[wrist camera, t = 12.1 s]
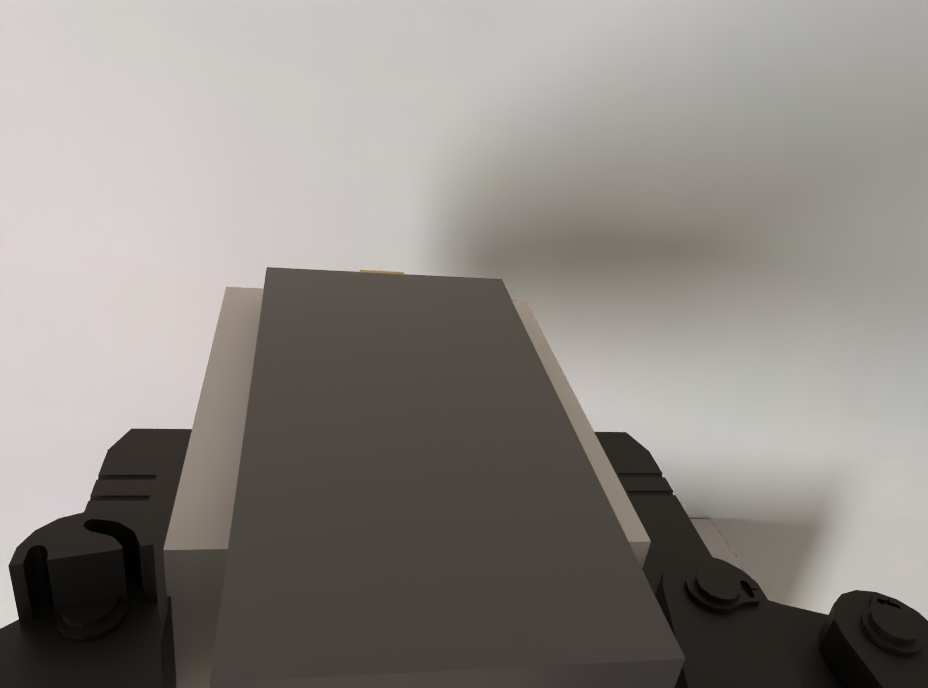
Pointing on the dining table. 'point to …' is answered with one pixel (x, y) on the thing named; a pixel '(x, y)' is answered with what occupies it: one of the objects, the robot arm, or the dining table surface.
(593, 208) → the dining table surface
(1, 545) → the dining table surface
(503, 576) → the plug
